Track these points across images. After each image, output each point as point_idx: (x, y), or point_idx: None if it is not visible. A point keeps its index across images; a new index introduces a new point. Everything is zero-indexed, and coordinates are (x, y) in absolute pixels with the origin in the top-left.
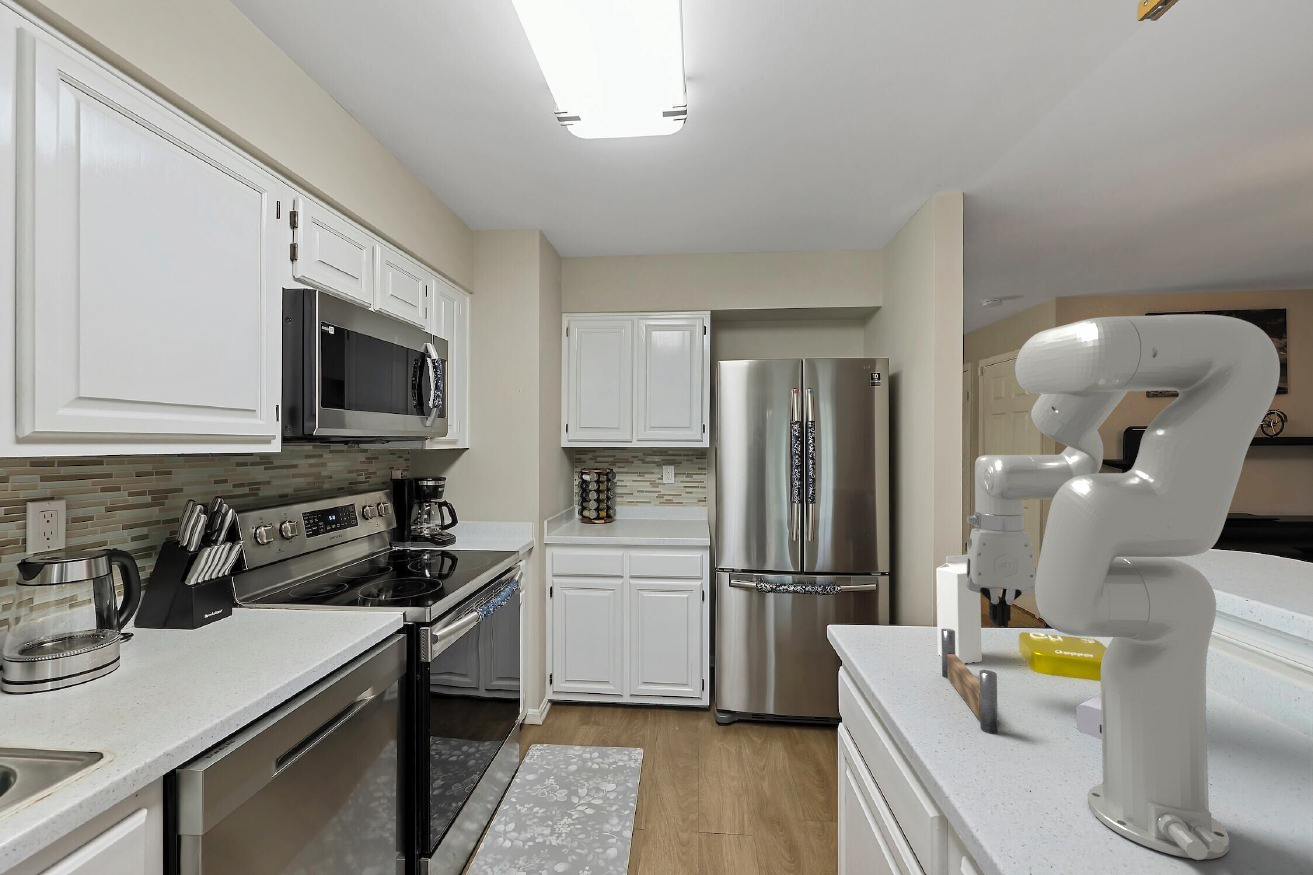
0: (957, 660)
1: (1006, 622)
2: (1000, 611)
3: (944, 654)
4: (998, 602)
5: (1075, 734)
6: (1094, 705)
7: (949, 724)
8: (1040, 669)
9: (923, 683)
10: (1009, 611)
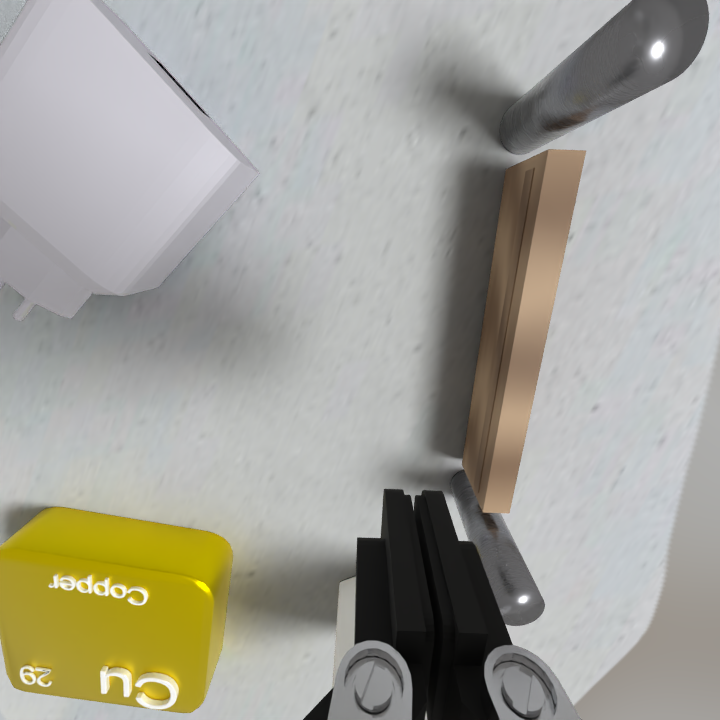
0: (503, 463)
1: (396, 504)
2: (452, 571)
3: (505, 523)
4: (485, 664)
5: (277, 145)
6: (179, 136)
7: (628, 148)
8: (214, 542)
9: (560, 429)
10: (365, 591)
